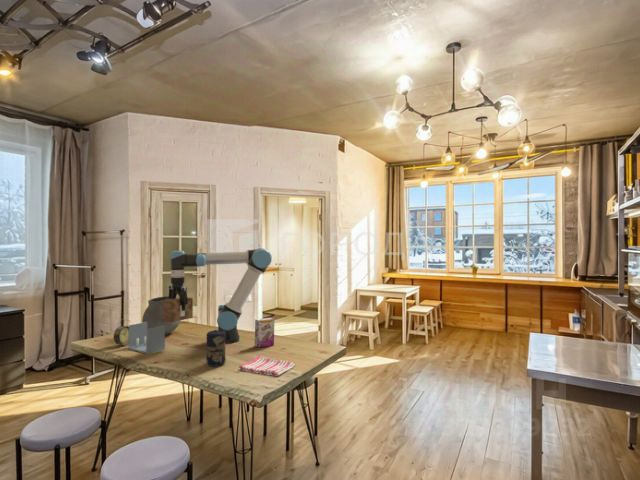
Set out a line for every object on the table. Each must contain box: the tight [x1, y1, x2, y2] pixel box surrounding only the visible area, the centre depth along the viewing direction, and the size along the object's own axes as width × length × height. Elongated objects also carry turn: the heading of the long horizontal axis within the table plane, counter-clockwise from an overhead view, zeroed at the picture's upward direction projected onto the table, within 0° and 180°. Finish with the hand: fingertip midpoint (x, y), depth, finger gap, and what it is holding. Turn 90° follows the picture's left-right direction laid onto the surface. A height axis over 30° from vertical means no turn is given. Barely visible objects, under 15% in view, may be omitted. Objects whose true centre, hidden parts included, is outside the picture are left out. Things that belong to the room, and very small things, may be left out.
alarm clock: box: [113, 318, 129, 348], centre depth 225 cm, size 11×5×16 cm, turn 168°
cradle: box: [128, 322, 166, 355], centre depth 218 cm, size 19×11×14 cm, turn 57°
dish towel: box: [239, 355, 296, 377], centre depth 187 cm, size 17×23×4 cm
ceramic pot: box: [141, 295, 182, 335], centre depth 253 cm, size 24×24×25 cm
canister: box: [205, 329, 226, 367], centre depth 192 cm, size 10×10×18 cm
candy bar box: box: [254, 317, 275, 349], centre depth 226 cm, size 11×5×16 cm, turn 123°
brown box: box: [162, 296, 194, 322], centre depth 218 cm, size 15×8×12 cm, turn 147°
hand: (177, 315), depth 218 cm, fingers closed on brown box, 8 cm apart
